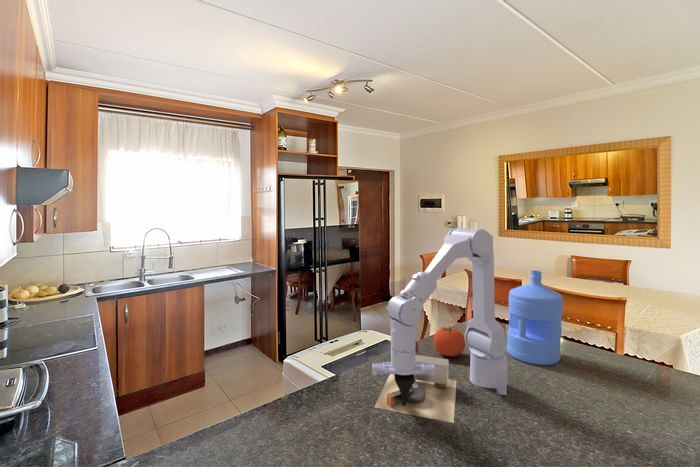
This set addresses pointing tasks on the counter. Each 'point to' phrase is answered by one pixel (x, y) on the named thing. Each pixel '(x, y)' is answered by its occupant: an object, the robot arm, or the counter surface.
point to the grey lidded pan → (413, 396)
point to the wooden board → (434, 405)
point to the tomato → (449, 341)
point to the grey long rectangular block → (440, 369)
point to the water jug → (535, 323)
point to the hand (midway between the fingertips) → (403, 403)
